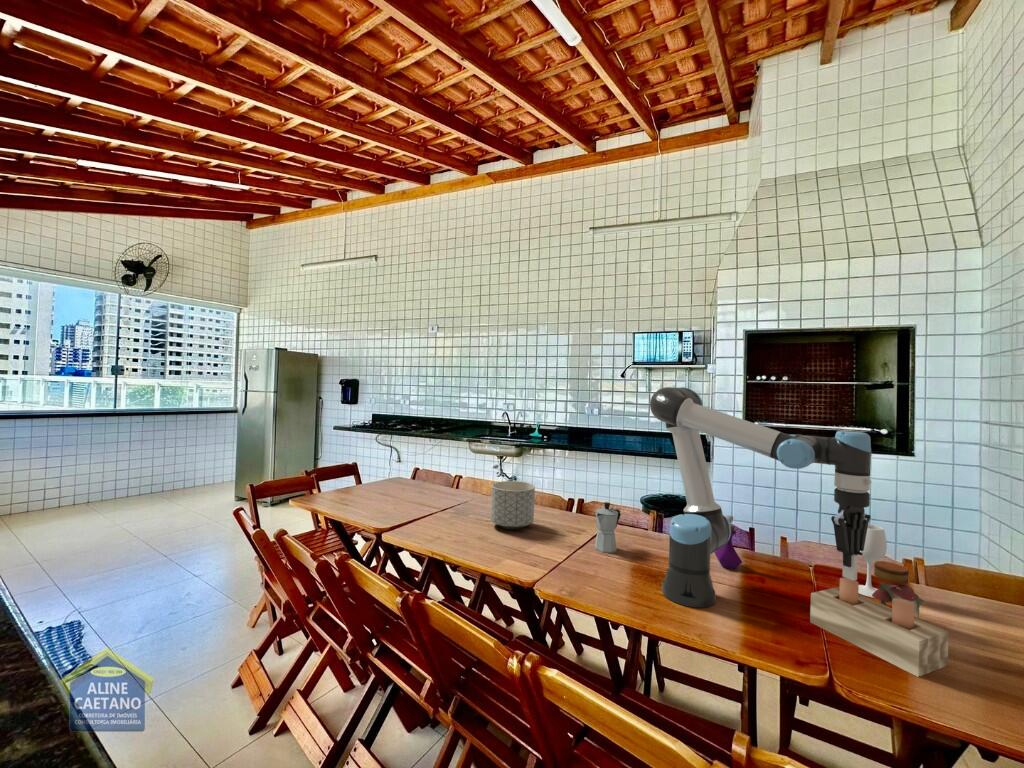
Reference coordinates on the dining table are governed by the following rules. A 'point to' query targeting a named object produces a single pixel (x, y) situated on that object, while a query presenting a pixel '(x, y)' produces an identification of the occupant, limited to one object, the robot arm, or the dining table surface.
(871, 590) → the wineglass
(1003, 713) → the dining table surface
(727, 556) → the perfume bottle
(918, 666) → the socket block
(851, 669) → the dining table surface
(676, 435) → the robot arm
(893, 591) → the toy burger
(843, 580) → the rear peg
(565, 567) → the dining table surface
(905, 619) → the front peg
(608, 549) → the coffee maker
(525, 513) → the planter
